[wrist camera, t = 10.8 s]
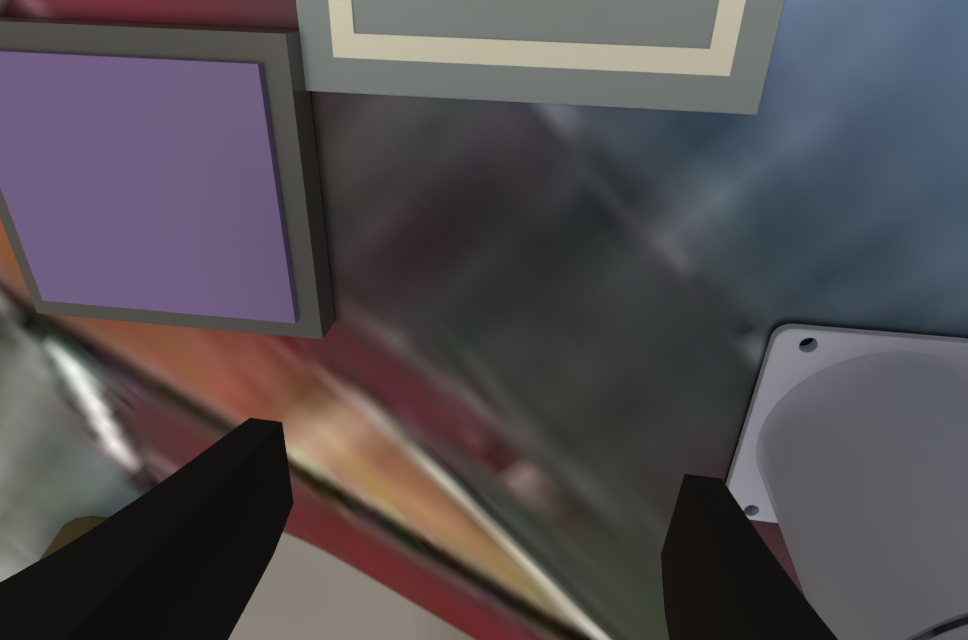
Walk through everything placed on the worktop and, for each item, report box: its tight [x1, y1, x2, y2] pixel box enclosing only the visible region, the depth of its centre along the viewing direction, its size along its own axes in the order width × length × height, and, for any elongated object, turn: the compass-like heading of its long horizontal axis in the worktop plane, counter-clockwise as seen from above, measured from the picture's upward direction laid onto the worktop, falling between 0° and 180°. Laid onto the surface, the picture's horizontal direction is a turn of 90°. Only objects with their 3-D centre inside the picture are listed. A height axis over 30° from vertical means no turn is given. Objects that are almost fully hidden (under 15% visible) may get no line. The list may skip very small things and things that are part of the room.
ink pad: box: [0, 16, 335, 339], centre depth 19 cm, size 10×9×2 cm
